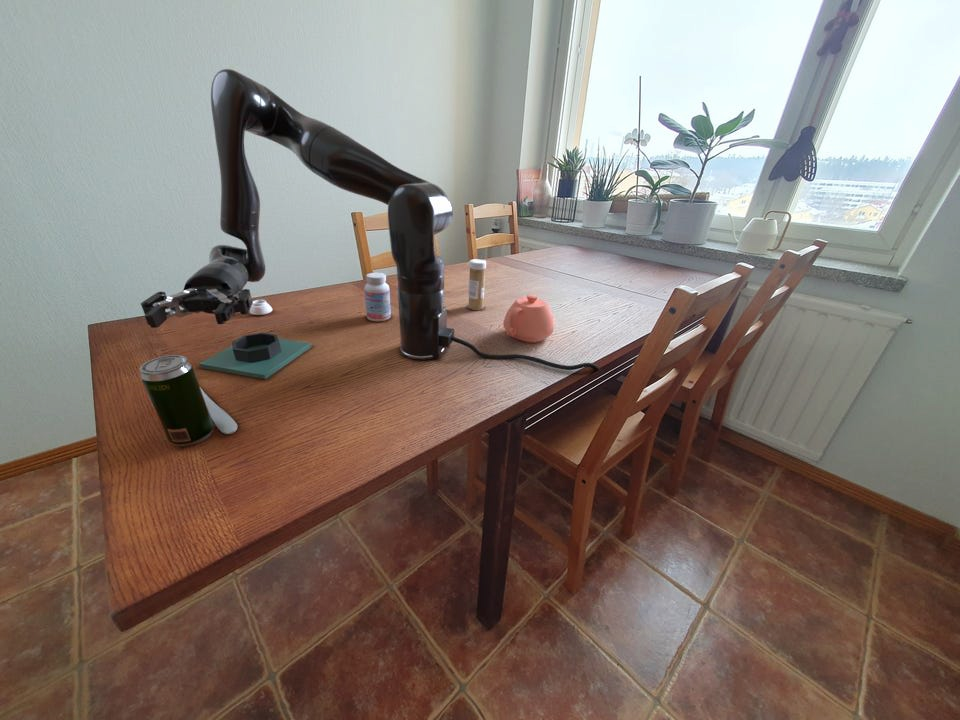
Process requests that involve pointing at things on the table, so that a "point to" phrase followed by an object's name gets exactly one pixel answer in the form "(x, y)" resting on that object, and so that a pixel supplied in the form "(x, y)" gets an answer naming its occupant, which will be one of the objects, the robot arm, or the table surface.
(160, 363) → the beer can
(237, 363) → the dock
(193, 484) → the table surface
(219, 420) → the butter knife
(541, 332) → the sugar bowl
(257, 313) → the white truncated cone
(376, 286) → the pill bottle
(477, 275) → the sprinkles bottle
